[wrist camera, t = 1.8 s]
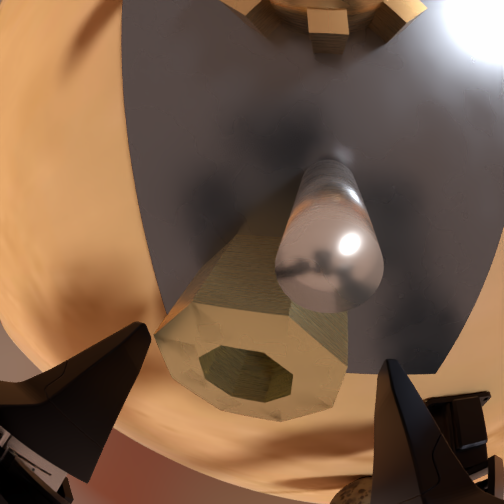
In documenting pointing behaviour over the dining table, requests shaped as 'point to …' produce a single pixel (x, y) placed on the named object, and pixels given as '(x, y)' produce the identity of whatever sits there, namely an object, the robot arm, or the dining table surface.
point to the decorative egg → (355, 492)
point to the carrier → (326, 154)
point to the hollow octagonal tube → (253, 338)
